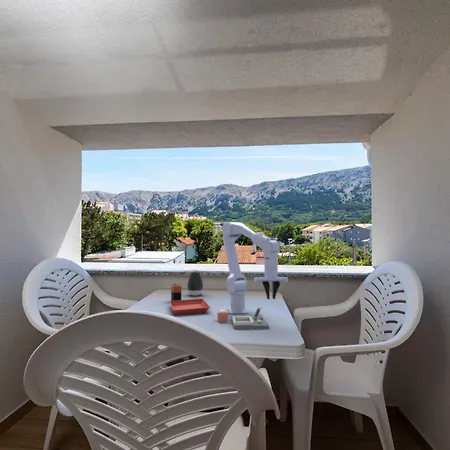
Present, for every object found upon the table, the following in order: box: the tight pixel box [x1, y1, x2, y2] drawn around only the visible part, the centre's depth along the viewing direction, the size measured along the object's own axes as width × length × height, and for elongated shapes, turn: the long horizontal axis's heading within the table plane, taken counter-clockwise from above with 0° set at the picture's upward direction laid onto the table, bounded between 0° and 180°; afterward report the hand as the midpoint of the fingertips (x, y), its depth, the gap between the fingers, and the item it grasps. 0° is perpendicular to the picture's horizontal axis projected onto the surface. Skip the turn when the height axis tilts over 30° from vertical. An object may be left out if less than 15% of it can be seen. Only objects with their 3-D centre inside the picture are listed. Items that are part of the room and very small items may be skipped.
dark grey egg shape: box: [186, 269, 204, 297], centre depth 179 cm, size 10×10×15 cm
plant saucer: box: [169, 298, 211, 316], centre depth 146 cm, size 18×18×3 cm
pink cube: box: [216, 309, 229, 323], centre depth 129 cm, size 4×4×4 cm
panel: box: [230, 313, 270, 330], centre depth 126 cm, size 16×14×2 cm
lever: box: [254, 305, 263, 320], centre depth 127 cm, size 3×1×6 cm, turn 4°
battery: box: [170, 282, 182, 301], centre depth 163 cm, size 4×7×10 cm, turn 23°
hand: (270, 298), depth 128 cm, fingers closed
